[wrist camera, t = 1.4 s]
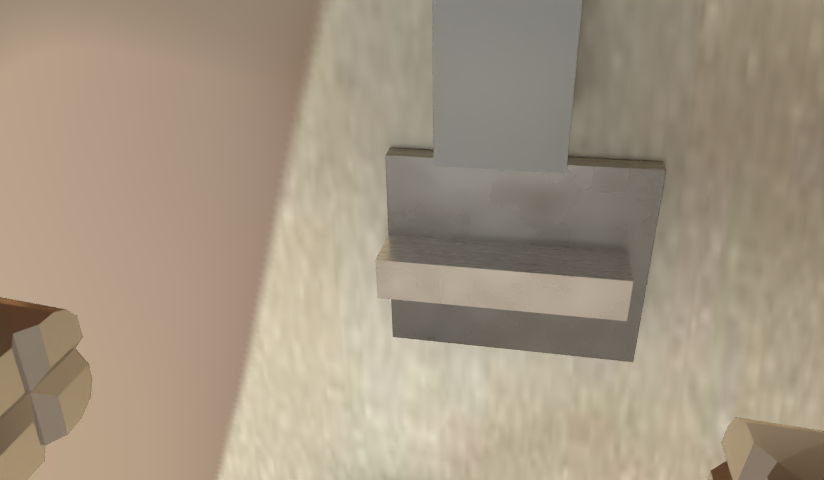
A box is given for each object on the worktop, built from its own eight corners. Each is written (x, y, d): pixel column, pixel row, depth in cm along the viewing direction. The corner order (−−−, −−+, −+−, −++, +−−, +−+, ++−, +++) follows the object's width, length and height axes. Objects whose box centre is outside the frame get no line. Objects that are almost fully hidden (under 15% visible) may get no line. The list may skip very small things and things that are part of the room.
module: (586, -121, 24) (594, -123, 18) (565, 112, 28) (566, 173, 22) (464, -117, 25) (432, -119, 19) (460, 108, 29) (433, 166, 23)
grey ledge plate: (662, 161, 28) (674, 194, 25) (631, 349, 33) (638, 396, 30) (390, 147, 30) (371, 176, 27) (397, 325, 35) (381, 367, 32)
